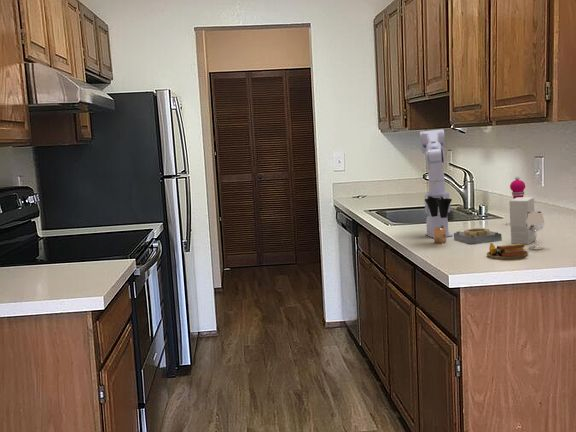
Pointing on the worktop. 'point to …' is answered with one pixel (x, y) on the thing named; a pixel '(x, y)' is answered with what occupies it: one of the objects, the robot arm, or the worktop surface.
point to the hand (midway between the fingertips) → (439, 217)
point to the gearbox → (477, 236)
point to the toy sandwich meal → (507, 251)
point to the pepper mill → (517, 188)
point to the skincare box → (521, 220)
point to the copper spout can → (439, 235)
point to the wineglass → (534, 224)
